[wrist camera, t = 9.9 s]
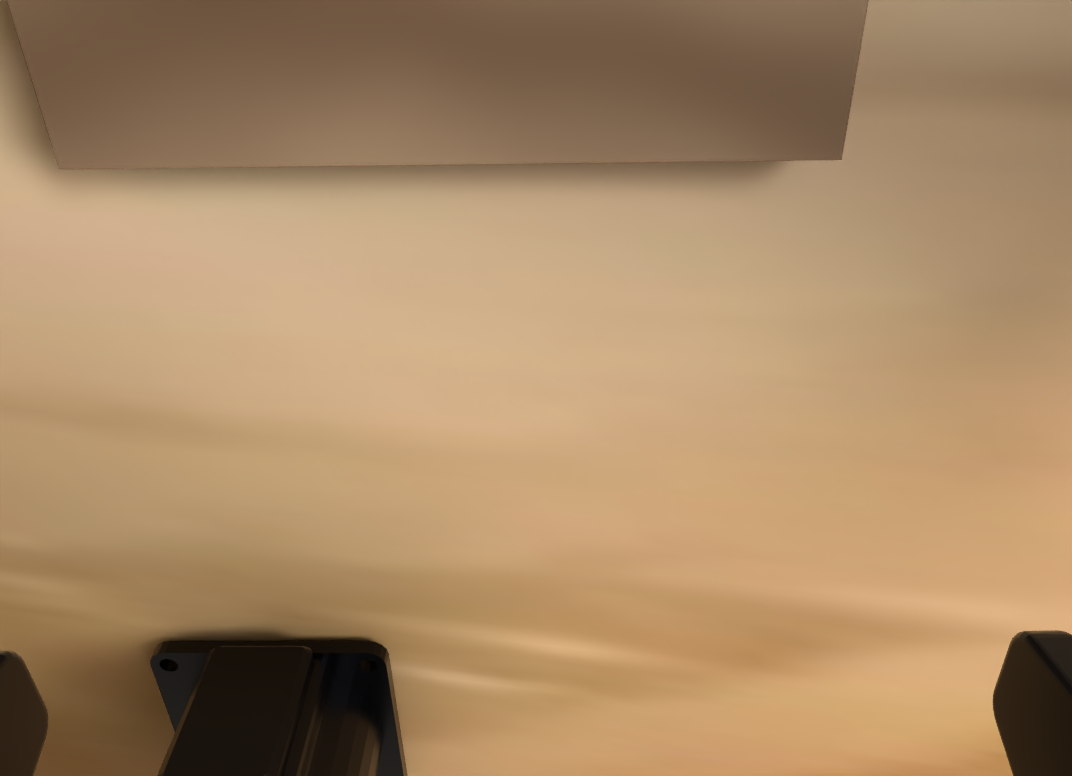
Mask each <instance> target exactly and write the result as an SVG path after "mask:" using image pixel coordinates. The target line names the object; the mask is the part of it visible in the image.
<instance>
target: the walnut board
mask: <svg viewBox="0 0 1072 776" xmlns="http://www.w3.org/2000/svg"><path fill="white" fill-rule="evenodd" d="M7 2H8V5H9V9H10V12H11V15H12V18H13V22H14V25H15V28H16V31H17V34H18V38H19V41H20V44H21V47H22V51H23V54H24V57H25V60H26V63H27V67H28V70H29V73H30V76H31V80H32V83H33V86H34V89H35V92H36V96H37V99H38V102H39V105H40V109H41V112H42V115H43V118H44V121H45V125H46V128H47V131H48V134H49V138H50V141H51V144H52V147H53V150H54V154H55V157H56V160H57V163H58V167H59V169H113V168H198V167H283V166H367V165H452V164H537V163H622V162H706V161H791V160H842V154H843V148H844V142H845V136H846V130H847V124H848V119H849V113H850V107H851V101H852V95H853V89H854V83H855V77H856V71H857V65H858V59H859V53H860V47H861V42H862V36H863V30H864V24H865V18H866V12H867V6H868V0H7Z"/></svg>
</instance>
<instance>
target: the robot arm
mask: <svg viewBox="0 0 1072 776" xmlns="http://www.w3.org/2000/svg"><path fill="white" fill-rule="evenodd" d="M367 659H369V660H367ZM150 661H151V667H152V670H153V673H154V675H155V678H156V681H157V684H158V686H159V689H160V692H161V695H162V697H163V700H164V703H165V706H166V708H167V711H168V714H169V716H170V719H171V722H172V725H173V727H174V730H175V734H174V737H173V739H172V742H171V744H170V746H169V749H168V751H167V754H166V756H165V758H164V761H163V763H162V766H161V768H160V770H159V773H158V775H157V776H407V770H406V763H405V757H404V750H403V744H402V737H401V731H400V724H399V718H398V711H397V705H396V698H395V692H394V685H393V679H392V672H391V666H390V659H389V654H388V651H387V649H386V648H385V647H383V646H382V645H380V644H378V643H376V642H297V641H169V642H163V643H161V644H159V645H158V647H157V648H156V650H155V652H154V654H153V656H152V658H151V660H150ZM993 710H994V716H995V720H996V723H997V727H998V730H999V733H1000V736H1001V739H1002V742H1003V745H1004V748H1005V751H1006V755H1007V758H1008V761H1009V764H1010V767H1011V770H1012V773H1013V776H1072V635H1071V634H1069V633H1067V632H1063V631H1023V632H1019V633H1018V634H1017V635H1015V636H1014V637H1013V638H1012V641H1011V643H1010V645H1009V648H1008V651H1007V654H1006V657H1005V660H1004V663H1003V666H1002V669H1001V672H1000V675H999V677H998V680H997V683H996V686H995V689H994V694H993ZM47 728H48V714H47V709H46V706H45V704H44V702H43V699H42V697H41V695H40V693H39V691H38V689H37V687H36V685H35V683H34V681H33V679H32V677H31V675H30V673H29V670H28V668H27V666H26V664H25V662H24V660H23V659H22V657H21V656H19V655H18V654H16V653H15V652H12V651H0V776H33V774H34V771H35V768H36V765H37V762H38V759H39V756H40V753H41V750H42V747H43V744H44V741H45V738H46V734H47Z"/></svg>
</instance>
